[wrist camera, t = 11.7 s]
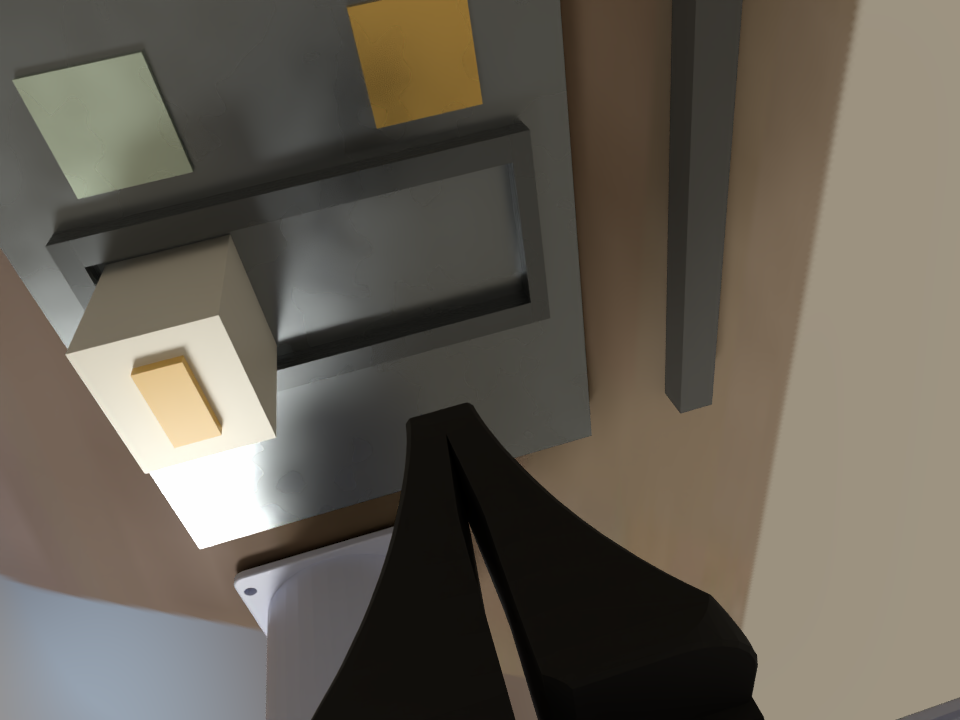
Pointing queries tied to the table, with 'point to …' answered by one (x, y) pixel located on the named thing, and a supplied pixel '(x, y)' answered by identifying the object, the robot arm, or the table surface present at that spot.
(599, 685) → the robot arm
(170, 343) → the toggle
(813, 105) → the table surface
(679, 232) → the dark gray bar
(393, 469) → the panel
